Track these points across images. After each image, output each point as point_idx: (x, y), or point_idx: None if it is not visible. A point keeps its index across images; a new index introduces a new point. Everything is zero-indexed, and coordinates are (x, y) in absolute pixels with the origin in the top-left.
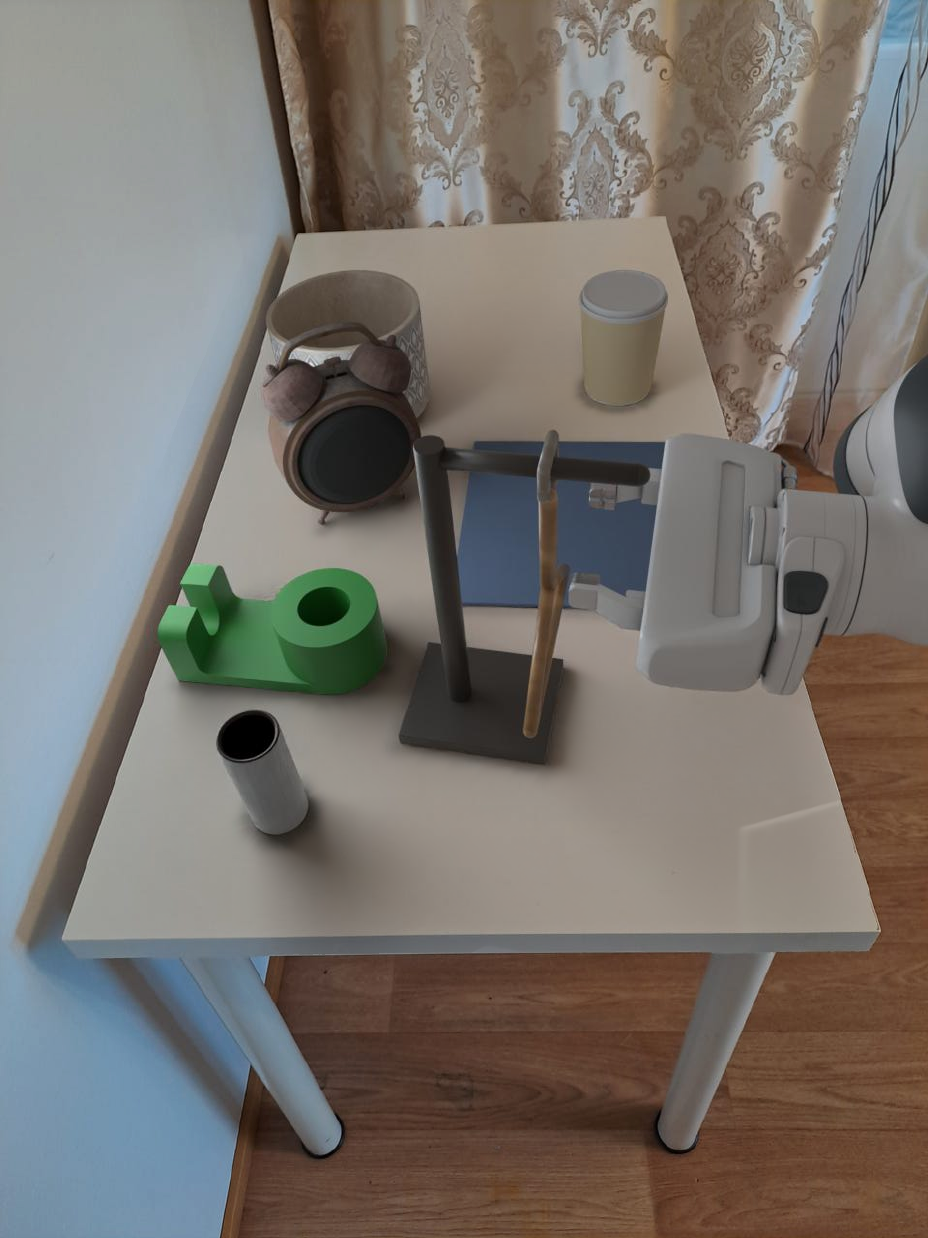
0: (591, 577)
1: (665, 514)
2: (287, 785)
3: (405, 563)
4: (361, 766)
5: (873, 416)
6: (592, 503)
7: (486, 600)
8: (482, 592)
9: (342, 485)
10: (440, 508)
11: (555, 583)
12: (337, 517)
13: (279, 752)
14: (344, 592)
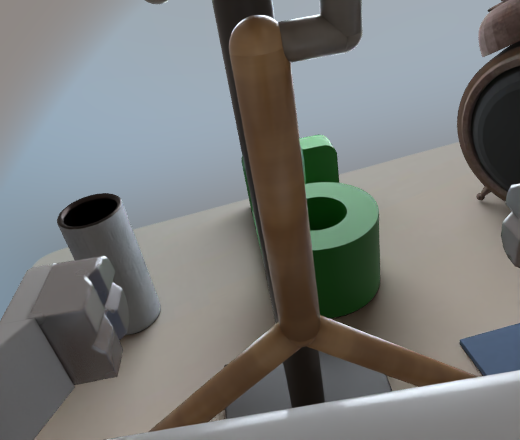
0: (72, 291)
1: (502, 408)
2: None
3: (488, 277)
4: (190, 354)
5: None
6: (506, 236)
7: None
8: (506, 368)
9: (504, 162)
10: (222, 35)
11: (291, 329)
12: (500, 205)
13: (82, 241)
14: (344, 218)
